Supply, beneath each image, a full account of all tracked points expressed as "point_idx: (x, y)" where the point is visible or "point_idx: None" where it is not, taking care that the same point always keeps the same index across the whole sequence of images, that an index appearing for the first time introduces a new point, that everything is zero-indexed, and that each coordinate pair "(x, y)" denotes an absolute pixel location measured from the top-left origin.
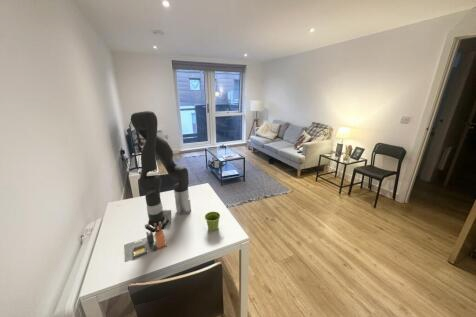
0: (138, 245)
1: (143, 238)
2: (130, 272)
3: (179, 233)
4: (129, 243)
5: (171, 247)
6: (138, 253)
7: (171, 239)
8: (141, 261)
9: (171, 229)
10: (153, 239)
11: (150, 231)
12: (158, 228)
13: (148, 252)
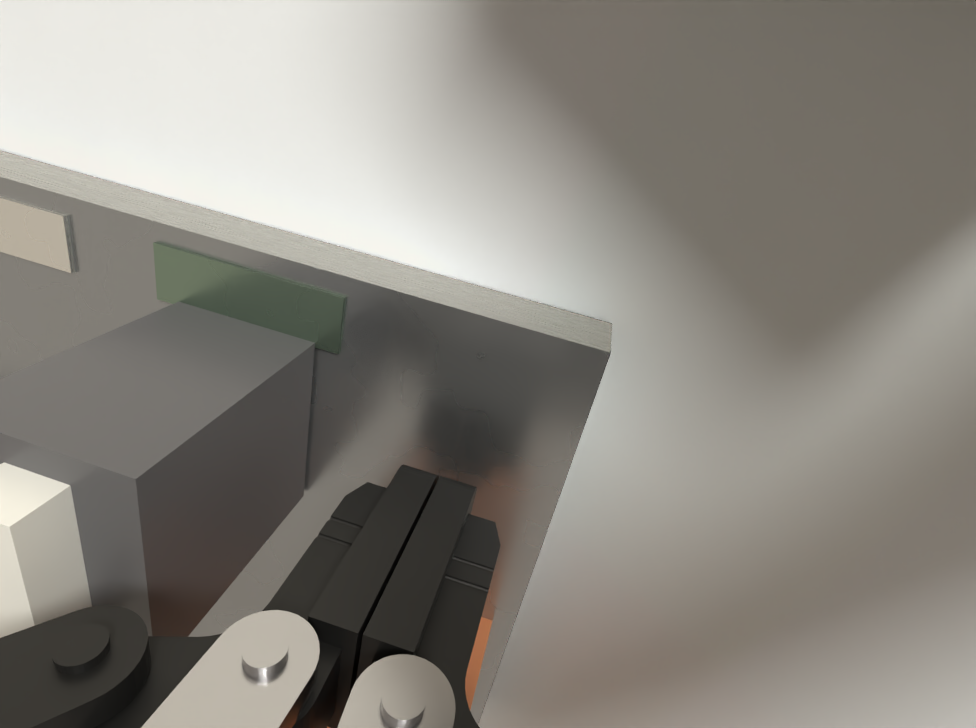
0: (5, 359)
1: (91, 208)
2: None
3: (933, 601)
4: None
5: (544, 723)
6: None
7: (658, 604)
8: None
9: (933, 315)
10: (263, 535)
11: (85, 489)
12: (346, 715)
13: None
